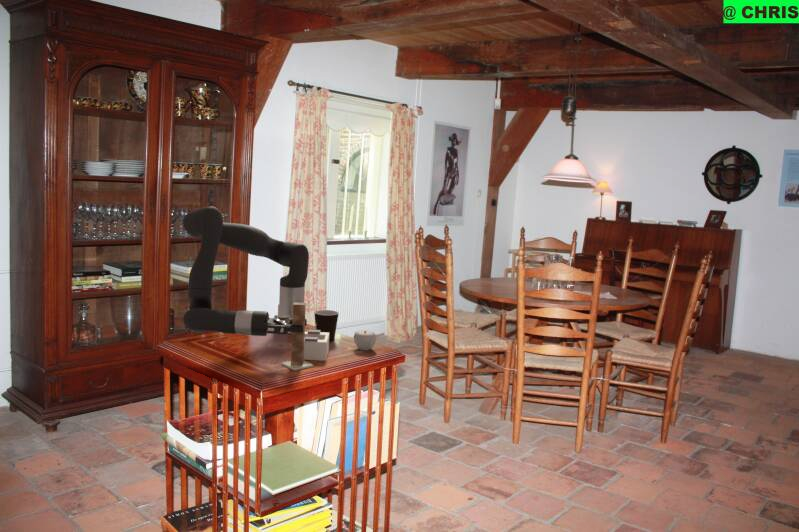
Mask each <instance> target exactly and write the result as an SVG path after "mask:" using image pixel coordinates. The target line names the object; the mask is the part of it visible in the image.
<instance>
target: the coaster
mask: <svg viewBox="0 0 799 532" xmlns="http://www.w3.org/2000/svg"><path fill="white" fill-rule="evenodd" d="M281 366H284V367H285V368H288V369H290V370H291V371H299V370H303V369H309V368H314V364H312V363H311V362H308V361H306V360H304V362H303V365H302V366H298V365H291V360H289V361H283V362H281Z"/></svg>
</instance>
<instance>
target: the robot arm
mask: <svg viewBox="0 0 799 532" xmlns="http://www.w3.org/2000/svg"><path fill="white" fill-rule="evenodd" d="M182 225H183V228H184V230H185V232H186V233H187V234H188V235H189V236H191V237H193V238H195V239H200V240H201V242H200V247H199V250H198V253H197V256H196V258H195V260H194V261H193V264H192V267H191V268H190V270H189V271H190V272H189V276H188V285H187V286H188V287H187V298H188V300H189V309H188V310H186V312H185V313H184V315H183V316H182V317H183V318H182V321H183V324H184V326H185V327H186V328H187V329H188V330H189V331H191V332H193V333H195V334H204V333H205V332H217V333H220V334H229V335H231V334H232V335H233V334H234V335H242V336H255V337H258V336H259V337H266V336H267V335H268V334H271V335H272V334H274V335H275V334H277V335H288V334H292V332H297V333H302V332H303V331H304V326H303V325H292V317H293V304H294V302H299V303H305V292H306V291H305V290H306V289H305V287H306V281H307V278H308V272H309V260H310V258H309V257H310V256H309V255H310V252H309V249H308V247H307V246H306V245H305V244H303V243H299V242H298V243H297V242H290V241H282V240H278V239H276V238H275V239H274V238H272V237H271V236H269V235H268V234H267V233H266V232H265V231H263V230H261V229H259V228H257V227H254V226H251V225H249V224H243V223H237V222H236V223H235V222H224V216H223V215H222V212H221V211H220V210H219V209H218V208H217V207H215V206H212V205H211V206H204V207H200V208H196V209H193V210H191V211H188V212H187V213H186V214H184V217H183V219H182ZM219 244H220V245H223V246H226V247H229V248H232V249H235V250H237V251H240V252H242V253H246V254H248V255H252V256H256V257H262V258H266V259H269V260H271V261H273V262H275V263H277V264H279V265H281V266H283V267H286V268H289V270H288V274H287V275H285V276H282V277H280V279H279V300H278V305H277V315H274V317H271V318H270V314H269V312H268V311H265V310H264V311H263V310H261V311H260V310H219V309H218V310H217V309H212V308H213V307H212V289H213V277H214V276H213V275H214V270H215V269H214V268H215V264H216V263H215V262H216V258H217V255H218V249H219V246H220V245H219ZM307 321H308V320H307V318H305V327H306V326H307Z"/></svg>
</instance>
